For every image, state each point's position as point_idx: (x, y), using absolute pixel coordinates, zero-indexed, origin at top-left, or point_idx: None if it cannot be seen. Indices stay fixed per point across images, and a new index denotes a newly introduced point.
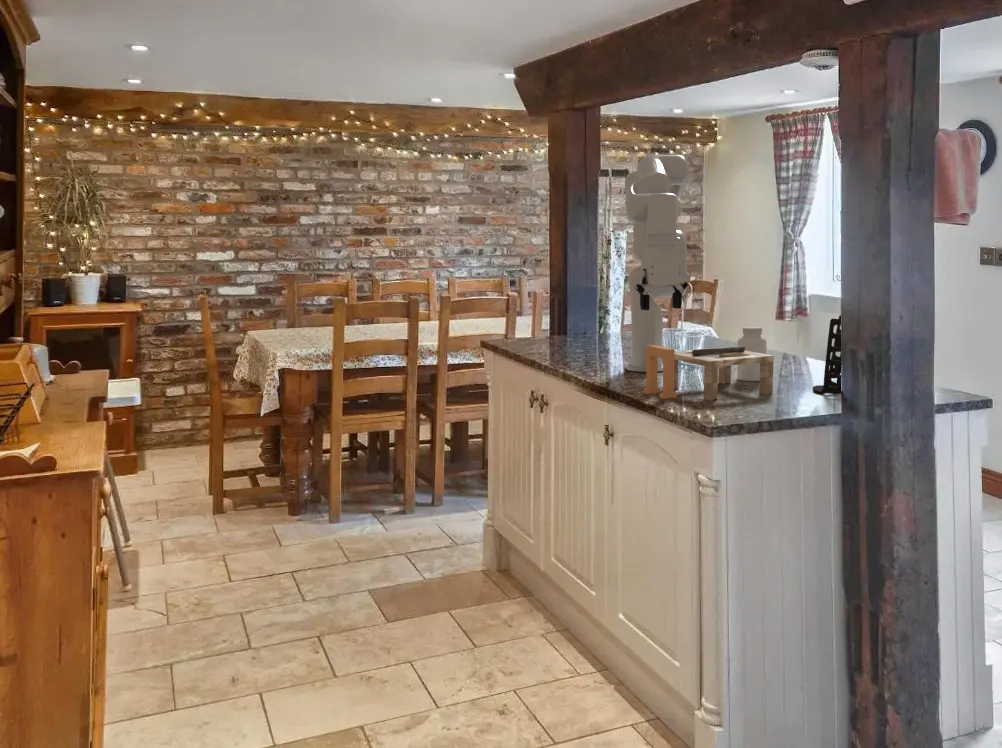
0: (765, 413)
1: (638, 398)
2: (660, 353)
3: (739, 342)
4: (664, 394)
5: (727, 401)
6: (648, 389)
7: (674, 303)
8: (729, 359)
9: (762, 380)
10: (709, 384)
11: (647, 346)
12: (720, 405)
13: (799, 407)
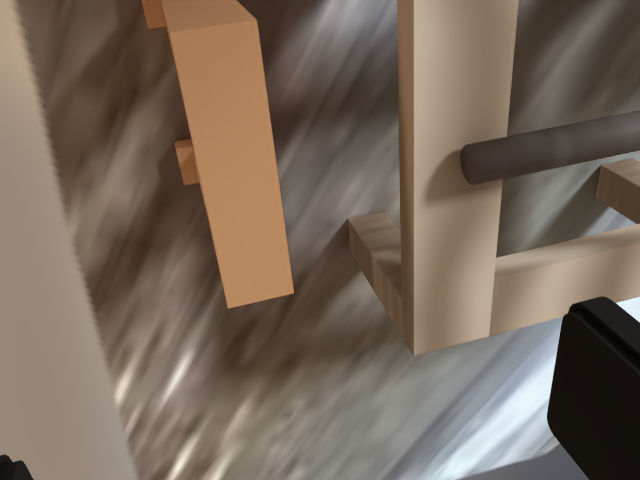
0: (385, 447)
1: (57, 126)
2: (209, 222)
3: None
4: (187, 184)
5: None
6: (155, 27)
7: (599, 391)
8: (527, 322)
9: (635, 203)
10: (372, 285)
11: (172, 43)
12: (334, 337)
13: (518, 394)
